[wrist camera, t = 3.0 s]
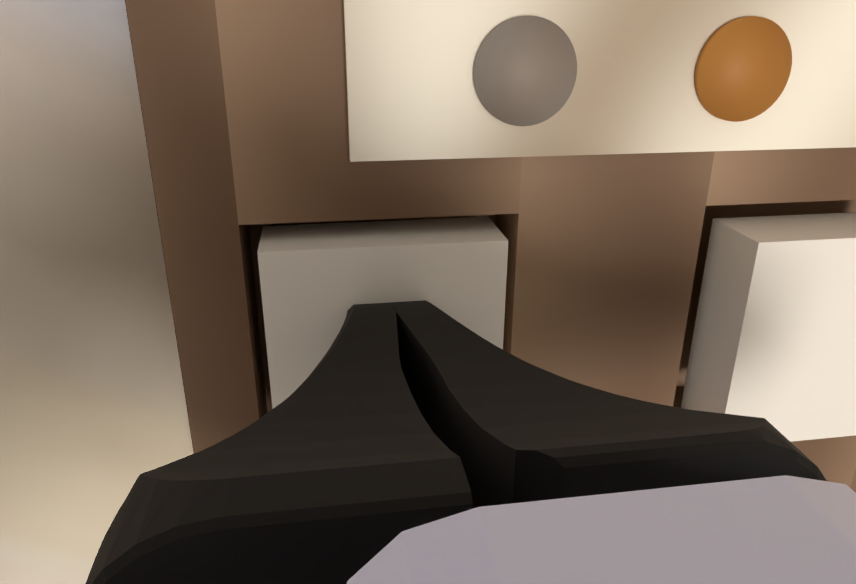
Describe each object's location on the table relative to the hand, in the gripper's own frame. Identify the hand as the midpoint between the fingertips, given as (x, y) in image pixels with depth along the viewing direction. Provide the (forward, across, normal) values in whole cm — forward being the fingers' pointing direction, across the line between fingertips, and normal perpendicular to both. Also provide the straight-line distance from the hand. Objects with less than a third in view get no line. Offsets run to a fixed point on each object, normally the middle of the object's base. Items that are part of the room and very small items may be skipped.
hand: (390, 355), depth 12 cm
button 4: (+1, -8, 0) cm, 8 cm away
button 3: (+1, 0, 0) cm, 1 cm away
